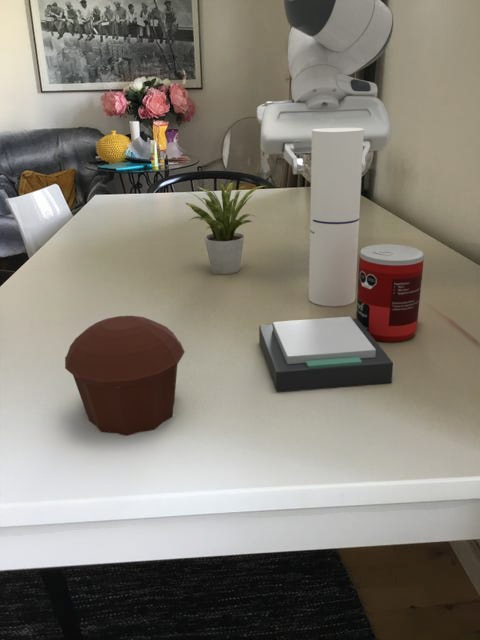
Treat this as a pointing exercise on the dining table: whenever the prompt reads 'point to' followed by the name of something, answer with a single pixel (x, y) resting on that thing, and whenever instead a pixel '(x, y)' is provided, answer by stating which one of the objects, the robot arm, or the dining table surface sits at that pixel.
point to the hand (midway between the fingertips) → (329, 170)
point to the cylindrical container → (334, 214)
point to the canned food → (389, 291)
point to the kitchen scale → (322, 354)
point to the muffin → (126, 373)
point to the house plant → (223, 229)
